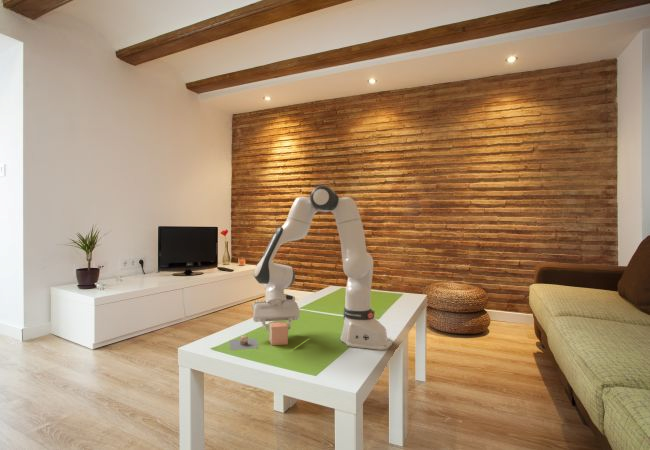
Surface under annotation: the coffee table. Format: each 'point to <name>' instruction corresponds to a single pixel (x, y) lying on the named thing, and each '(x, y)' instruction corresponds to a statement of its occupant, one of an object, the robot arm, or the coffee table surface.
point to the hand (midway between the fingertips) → (277, 329)
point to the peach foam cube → (278, 333)
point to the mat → (236, 345)
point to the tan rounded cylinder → (243, 340)
